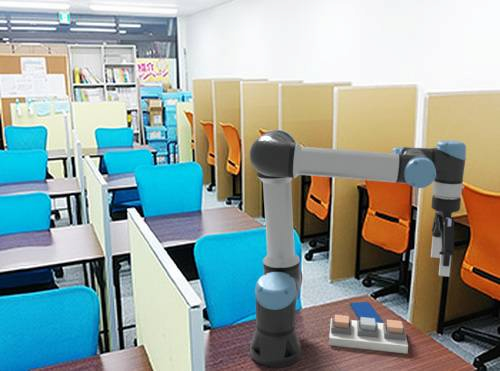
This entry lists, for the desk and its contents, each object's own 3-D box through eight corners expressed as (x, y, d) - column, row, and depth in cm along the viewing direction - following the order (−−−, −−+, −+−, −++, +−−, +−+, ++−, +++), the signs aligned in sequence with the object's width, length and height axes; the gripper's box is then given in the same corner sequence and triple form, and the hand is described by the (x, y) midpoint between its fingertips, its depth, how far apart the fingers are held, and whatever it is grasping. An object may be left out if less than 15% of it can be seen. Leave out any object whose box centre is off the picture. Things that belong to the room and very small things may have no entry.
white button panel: (328, 345, 143) (329, 332, 142) (330, 324, 154) (331, 313, 153) (407, 353, 138) (408, 340, 137) (403, 332, 149) (404, 320, 148)
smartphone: (368, 301, 169) (383, 322, 154) (368, 304, 169) (383, 324, 154) (348, 302, 168) (362, 323, 154) (348, 305, 168) (362, 326, 154)
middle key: (360, 330, 144) (360, 324, 143) (360, 322, 148) (360, 317, 147) (375, 331, 143) (375, 325, 142) (374, 324, 147) (374, 318, 146)
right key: (387, 332, 142) (387, 326, 141) (386, 325, 146) (386, 319, 146) (402, 334, 141) (402, 328, 141) (401, 326, 145) (401, 320, 145)
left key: (334, 327, 145) (334, 321, 145) (334, 320, 149) (334, 314, 149) (348, 328, 144) (348, 322, 144) (348, 321, 148) (348, 315, 148)
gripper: (471, 209, 119) (462, 285, 124) (451, 186, 142) (445, 251, 147) (440, 207, 120) (433, 283, 125) (425, 185, 144) (420, 249, 149)
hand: (439, 266), depth 136 cm, fingers open, 13 cm apart
